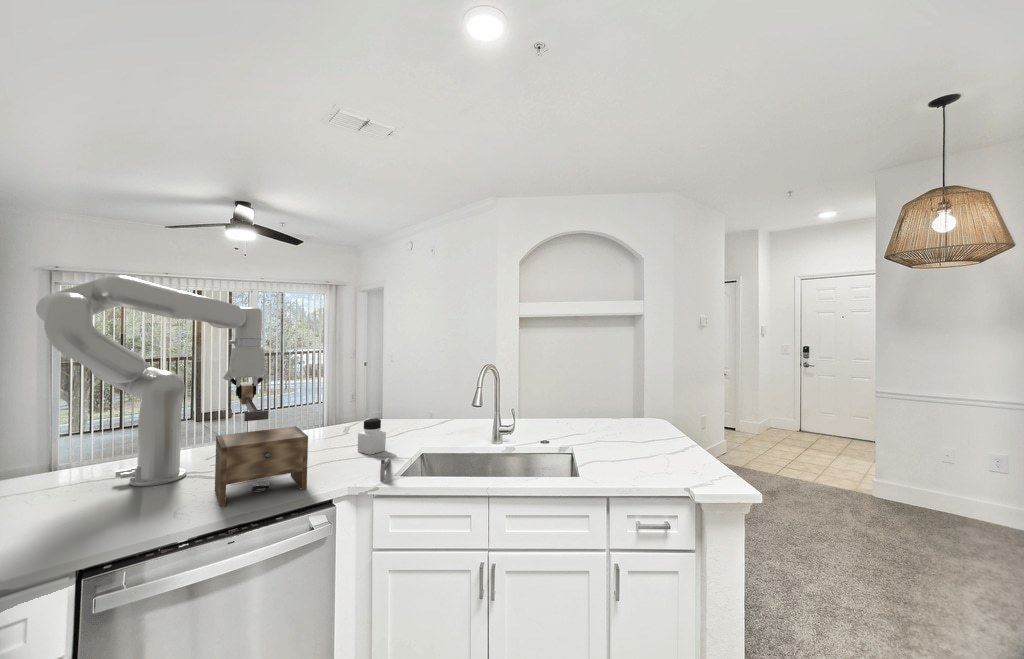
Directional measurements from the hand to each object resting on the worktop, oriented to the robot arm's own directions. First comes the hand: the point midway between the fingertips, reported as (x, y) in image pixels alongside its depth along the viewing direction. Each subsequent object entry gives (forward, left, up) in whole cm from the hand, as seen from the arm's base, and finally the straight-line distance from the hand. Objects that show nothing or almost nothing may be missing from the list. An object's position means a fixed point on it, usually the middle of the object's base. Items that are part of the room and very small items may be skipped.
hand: (246, 397), depth 140 cm
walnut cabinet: (0, -33, -21) cm, 39 cm away
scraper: (0, -10, -2) cm, 10 cm away
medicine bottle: (+38, -15, -21) cm, 46 cm away
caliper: (+34, -37, -22) cm, 55 cm away
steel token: (0, -32, -21) cm, 39 cm away
